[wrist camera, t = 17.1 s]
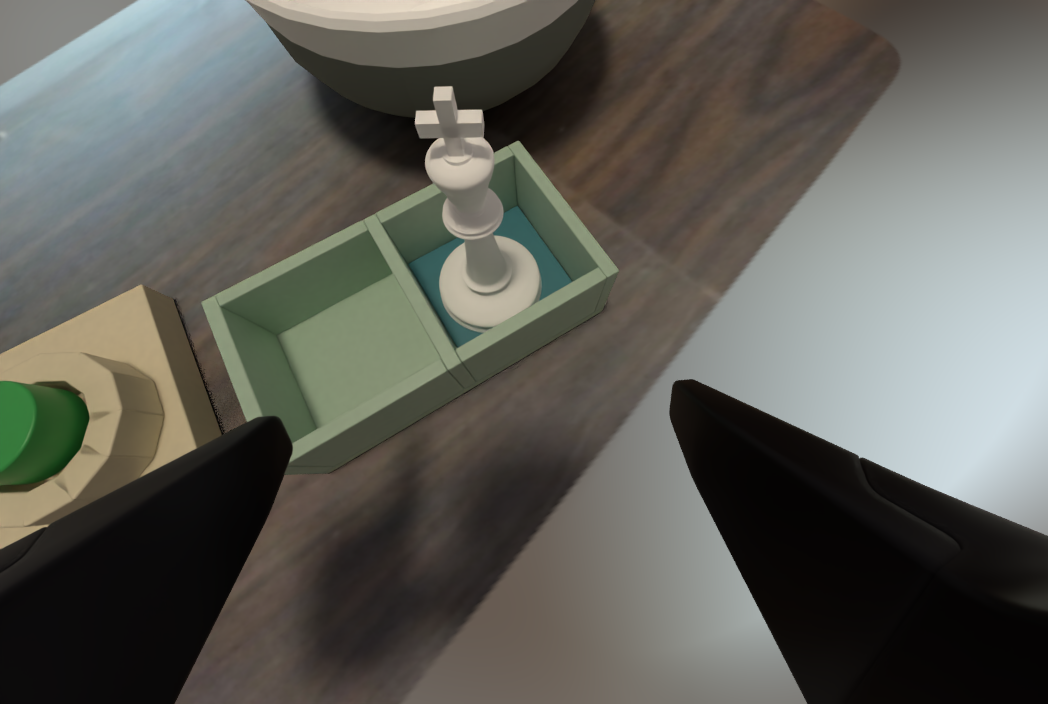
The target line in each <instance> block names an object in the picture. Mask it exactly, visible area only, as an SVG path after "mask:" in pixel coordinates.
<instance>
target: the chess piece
mask: <svg viewBox="0 0 1048 704" xmlns="http://www.w3.org/2000/svg"><path fill="white" fill-rule="evenodd" d="M433 103H434V107H435V110H430V111H416V117H415V127H416V129H417V132H418V135H419V138H438V139H437V140H436V141H435V142H434V143H433V144H432V145H431V146H430V148H429V149H428V151H427V154H426V158H425V168H426V171H427V174H428V176H429V178H430V179H431V181H432V182H433V183H434V184H435V185H436V187H437V188H438V189H439V190H440V191H442V192H443V193H444V194H445V195H446V196H447V199H446V200H445V202H444V205H443V212H442V219H443V223H444V225H445V227H446V228H447V230H448V231H449V232H450V233H451V234H453V235H454V236H456V237H458V238H461V239H464V240H465V242H464V243H463V244H461V245H460V246H458V247H457V248H456V249H455V250H454V251H453V252H452V253H451V254H450V255H449V256H448V258H447V259H446V261H445V263H444V264H443V267H442V269H441V273H440V278H439V288H440V294H441V299H442V302H443V305H444V307H445V309H446V311H447V312H448V314H449V315H450V316H451V317H452V318H453V319H454V320H455V321H456V322H457V323H459V324H460V325H462V326H463V327H465V328H467V329H470V330H472V331H476V332H481V333H485V332H486V331H488V330H490V329H492V328H493V327H495V326H497V325H498V324H500V323H502V322H504V321H505V320H507V319H509V318H511V317H512V316H514V315H516V314H518V313H519V312H521V311H523V310H525V309H526V308H528V307H530V306H531V305H533V304H535V303H537V302H538V301H539V298H540V295H541V288H542V281H541V275H540V272H539V268H538V265H537V263H536V261H535V259H534V257H533V256H532V254H531V253H530V252H529V251H528V250H527V249H526V248H525V247H524V246H523V245H521V244H520V243H518V242H516V241H514V240H512V239H510V238H506V237H502V236H494V235H493V232H494V231H495V230H496V229H497V228H498V227H499V225H500V224H501V222H502V219H503V206H502V203H501V201H500V199H499V198H498V196H497V195H496V194H495V193H494V192H493V191H492V190H491V189H489V188H488V185H489V182H490V180H491V177H492V174H493V170H494V162H495V159H494V153H493V150H492V148H491V146H490V145H489V143H488V142H487V141H486V140H485V139H484V138H482V137H484V118H483V111H482V110H458V109H457V105H456V100H455V96H454V91H453V87H452V86H447V87H434V95H433Z"/></svg>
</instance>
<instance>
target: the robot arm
mask: <svg viewBox="0 0 1048 704" xmlns="http://www.w3.org/2000/svg"><path fill="white" fill-rule="evenodd" d="M670 419H671V423H672V425H673V428H674V431H675V433H676V436H677V439H678V441H679V444H680V447H681V449H682V452H683V455H684V457H685V460H686V463H687V466H688V468H689V470H690V473H691V476H692V478H693V480H694V482H695V484H696V487H697V489H698V490H699V493H700V495H701V497H702V498H703V500H704V502H705V504H706V506H707V508H708V510H709V512H710V514H711V516H712V518H713V520H714V522H715V524H716V526H717V528H718V530H719V532H720V534H721V535H722V537H723V539H724V541H725V543H726V545H727V547H728V549H729V551H730V553H731V555H732V557H733V559H734V561H735V563H736V565H737V567H738V569H739V571H740V573H741V575H742V577H743V579H744V580H745V582H746V584H747V586H748V588H749V590H750V592H751V594H752V596H753V598H754V600H755V602H756V604H757V606H758V608H759V610H760V612H761V614H762V616H763V618H764V620H765V622H766V624H767V625H768V628H769V629H770V631H771V633H772V635H773V637H774V639H775V641H776V643H777V645H778V647H779V649H780V651H781V653H782V655H783V657H784V659H785V661H786V663H787V664H788V667H789V668H790V671H791V672H792V674H793V676H794V678H795V680H796V682H797V684H798V686H799V688H800V690H801V692H802V694H803V696H804V698H805V700H806V702H807V704H1048V536H1047V535H1044V534H1042V533H1039V532H1037V531H1034V530H1032V529H1029V528H1027V527H1024V526H1022V525H1019V524H1017V523H1015V522H1012V521H1009V520H1007V519H1005V518H1002V517H1000V516H997V515H995V514H992V513H990V512H988V511H985V510H983V509H980V508H978V507H975V506H973V505H970V504H968V503H966V502H963V501H961V500H958V499H956V498H954V497H951V496H949V495H946V494H944V493H942V492H939V491H937V490H934V489H932V488H930V487H927V486H925V485H923V484H920V483H918V482H916V481H914V480H911V479H909V478H907V477H905V476H902V475H900V474H898V473H896V472H893V471H891V470H889V469H887V468H884V467H882V466H880V465H878V464H876V463H874V462H872V461H869V460H867V459H865V458H860V459H859V456H858V455H856V454H854V453H852V452H849V451H847V450H845V449H843V448H841V447H839V446H837V445H834V444H832V443H830V442H828V441H826V440H824V439H822V438H819V437H817V436H815V435H813V434H811V433H809V432H806V431H804V430H802V429H800V428H797V427H796V426H793V425H791V424H789V423H787V422H785V421H782V420H780V419H778V418H776V417H774V416H771V415H769V414H767V413H765V412H763V411H761V410H759V409H756V408H754V407H752V406H750V405H747V404H746V403H743V402H741V401H739V400H737V399H735V398H732V397H730V396H728V395H726V394H724V393H722V392H719V391H717V390H715V389H713V388H711V387H709V386H707V385H704V384H702V383H700V382H698V381H695V380H693V379H689V380H678V381H675V382H674V384H673V387H672V394H671V403H670ZM292 452H293V444H292V441H291V439H290V437H289V435H288V433H287V431H286V428H285V426H284V424H283V422H282V420H281V419H280V418H279V417H278V416H261V417H256V418H254V419H252V420H250V421H248V422H246V423H244V424H243V425H241V426H239V427H237V428H235V429H233V430H231V431H229V432H227V433H225V434H223V435H221V436H219V437H217V438H215V439H213V440H212V441H210V442H208V443H206V444H204V445H202V446H200V447H198V448H196V449H194V450H192V451H190V452H188V453H186V454H184V455H182V456H181V457H179V458H177V459H175V460H173V461H171V462H169V463H167V464H165V465H163V466H161V467H159V468H157V469H155V470H153V471H151V472H150V473H148V474H146V475H144V476H142V477H140V478H138V479H136V480H134V481H132V482H130V483H128V484H126V485H124V486H122V487H120V488H119V489H117V490H115V491H113V492H111V493H109V494H107V495H105V496H103V497H101V498H99V499H97V500H95V501H93V502H91V503H89V504H88V505H86V506H84V507H82V508H80V509H78V510H76V511H74V512H72V513H70V514H68V515H66V516H64V517H62V518H60V519H58V520H56V521H55V522H53V523H51V524H50V525H49V526H48V527H43V528H41V529H39V530H37V531H35V532H33V533H31V534H29V535H27V536H25V537H23V538H21V539H19V540H18V541H16V542H14V543H12V544H10V545H8V546H6V547H4V548H2V549H0V704H175V702H176V700H177V698H178V696H179V694H180V692H181V690H182V688H183V686H184V684H185V682H186V680H187V678H188V676H189V674H190V672H191V670H192V668H193V666H194V664H195V662H196V660H197V658H198V656H199V654H200V652H201V650H202V648H203V646H204V644H205V642H206V640H207V638H208V636H209V634H210V632H211V630H212V628H213V626H214V624H215V622H216V620H217V618H218V616H219V614H220V612H221V610H222V608H223V606H224V604H225V602H226V600H227V598H228V596H229V594H230V592H231V590H232V588H233V586H234V584H235V582H236V580H237V578H238V576H239V574H240V572H241V570H242V568H243V566H244V564H245V562H246V560H247V558H248V556H249V554H250V552H251V550H252V548H253V546H254V544H255V542H256V540H257V538H258V536H259V534H260V532H261V530H262V528H263V526H264V524H265V522H266V519H267V517H268V515H269V513H270V510H271V508H272V505H273V503H274V500H275V498H276V495H277V492H278V490H279V487H280V485H281V482H282V479H283V477H284V474H285V471H286V469H287V466H288V464H289V461H290V458H291V456H292Z"/></svg>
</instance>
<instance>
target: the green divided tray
mask: <svg viewBox="0 0 1048 704" xmlns="http://www.w3.org/2000/svg"><path fill="white" fill-rule="evenodd" d="M494 159H495V162H494V170H493V174H492V177H491V180H490V182H489V185H488V188H489V189H491V190H492V191H493V192H494V193H495V194H496V195H497V196H498V198H499V199H500V201H501V203H502V206H503V219H502V222H501V224H500V225H499V227H498V228H497V229H496V230H495V231H494V232H493V235H494V236H502V237H506V238H510V239H512V240H514V241H516V242H518V243H520V244H521V245H523V246H524V247H525V248H526V249H527V250H528V251H529V252H530V253H531V254H532V256H533V257H534V259H535V261H536V263H537V265H538V268H539V272H540V275H541V281H542V288H541V295H540V298H539V301H538V302H537V303H535V304H533V305H531V306H530V307H528V308H526V309H525V310H523V311H521V312H519V313H518V314H516V315H514V316H512V317H511V318H509V319H507V320H505V321H504V322H502V323H500V324H498V325H497V326H495V327H493V328H492V329H490V330H488V331H486V332H485V333H481V332H476V331H472V330H470V329H467V328H465V327H463V326H462V325H460V324H459V323H457V322H456V321H455V320H454V319H453V318H452V317H451V316H450V315H449V314H448V312H447V311H446V309H445V307H444V305H443V302H442V299H441V294H440V288H439V278H440V273H441V269H442V267H443V264H444V263H445V261H446V259H447V258H448V256H449V255H450V254H451V253H452V252H453V251H454V250H455V249H456V248H457V247H458V246H460V245H461V244H463V243H464V242H465V240H464V239H461V238H458V237H456V236H454V235H453V234H451V233H450V232H449V231H448V230H447V228H446V227H445V225H444V223H443V219H442V212H443V205H444V202H445V200H446V199H447V196H446V195H445V194H444V193H443V192H442V191H440V190H439V189H438V188H437V187H436V185H435V184H432V185H430V186H428V187H426V188H424V189H422V190H420V191H418V192H416V193H414V194H412V195H410V196H408V197H406V198H404V199H402V200H400V201H398V202H396V203H394V204H392V205H391V206H389V207H387V208H385V209H383V210H381V211H379V212H377V213H376V215H375V214H373V215H371V216H369V217H368V218H366V219H364V220H363V221H364V222H363V221H359V222H357V223H355V224H353V225H352V226H350V227H348V228H346V229H344V230H342V231H340V232H338V233H336V234H334V235H332V236H330V237H328V238H326V239H324V240H322V241H320V242H318V243H316V244H314V245H312V246H310V247H308V248H306V249H305V250H303V251H301V252H299V253H297V254H295V255H293V256H291V257H289V258H287V259H285V260H283V261H281V262H279V263H277V264H275V265H273V266H271V267H269V268H267V269H265V270H263V271H261V272H259V273H257V274H256V275H254V276H252V277H250V278H248V279H246V280H244V281H242V282H240V283H238V284H236V285H234V286H232V287H230V288H228V289H226V290H224V291H222V292H220V293H218V294H216V296H212V297H210V298H209V299H207V300H205V301H203V302H202V306H203V309H204V311H205V314H206V316H207V319H208V322H209V324H210V327H211V330H212V332H213V335H214V337H215V340H216V343H217V345H218V348H219V350H220V353H221V356H222V358H223V361H224V363H225V366H226V369H227V371H228V374H229V377H230V379H231V382H232V384H233V387H234V390H235V392H236V395H237V397H238V400H239V403H240V405H241V408H242V411H243V413H244V416H245V418H246V421H247V422H248V421H250V420H252V419H254V418H256V417H261V416H278V417H279V418H280V419H281V420H282V422H283V424H284V426H285V428H286V431H287V433H288V435H289V437H290V439H291V441H292V444H293V452H292V456H291V458H290V461H289V464H288V466H287V469H286V471H285V474H284V475H292V474H321V473H322V474H326V473H330V472H332V471H334V470H335V469H337V468H339V467H341V466H342V465H344V464H346V463H347V462H349V461H351V460H352V459H354V458H356V457H357V456H359V455H361V454H362V453H364V452H366V451H367V450H369V449H371V448H373V447H374V446H376V445H378V444H379V443H381V442H383V441H384V440H386V439H388V438H389V437H391V436H393V435H394V434H396V433H398V432H399V431H401V430H403V429H405V428H406V427H408V426H410V425H411V424H413V423H415V422H416V421H418V420H420V419H421V418H423V417H425V416H426V415H428V414H430V413H431V412H433V411H435V410H436V409H438V408H440V407H442V406H443V405H445V404H447V403H448V402H450V401H452V400H453V399H455V398H457V397H458V396H460V395H462V394H463V393H465V392H467V391H468V390H470V389H472V388H474V387H475V386H477V385H479V384H480V383H482V382H484V381H485V380H487V379H489V378H490V377H492V376H494V375H495V374H497V373H499V372H500V371H502V370H504V369H506V368H507V367H509V366H511V365H512V364H514V363H516V362H517V361H519V360H521V359H522V358H524V357H526V356H527V355H529V354H531V353H532V352H534V351H536V350H538V349H539V348H541V347H543V346H544V345H546V344H548V343H549V342H551V341H553V340H554V339H556V338H558V337H559V336H561V335H563V334H564V333H566V332H568V331H570V330H571V329H573V328H575V327H576V326H578V325H580V324H581V323H583V322H585V321H586V320H588V319H590V318H591V317H593V316H595V315H596V314H598V313H600V312H601V311H602V310H603V308H604V305H605V303H606V300H607V298H608V296H609V293H610V291H611V289H612V286H613V284H614V282H615V279H616V277H617V274H618V272H619V270H618V268H617V267H616V266H615V265H614V263H613V262H612V261H611V259H610V258H609V257H608V255H607V254H606V253H605V252H604V250H603V249H602V248H601V246H600V245H599V244H598V242H597V241H596V240H595V239H594V237H593V236H592V235H591V233H590V232H589V231H588V230H587V228H586V227H585V226H584V224H583V223H582V222H581V220H580V219H579V218H578V217H577V215H576V214H575V213H574V211H573V210H572V209H571V207H570V206H569V205H568V204H567V202H566V201H565V200H564V198H563V197H562V196H561V195H560V193H559V192H558V191H557V189H556V188H555V187H554V185H553V184H552V183H551V182H550V180H549V179H548V178H547V176H546V175H545V174H544V172H543V171H542V170H541V169H540V167H539V166H538V165H537V163H536V162H535V161H534V160H533V158H532V157H531V156H530V154H529V153H528V152H527V150H526V149H525V148H524V147H523V145H522V144H521V143H520V141H516V142H514V143H512V144H510V145H509V146H508V147H507V146H506V147H504V148H502V149H500V150H498V151H496V152H494Z"/></svg>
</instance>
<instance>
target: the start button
mask: <svg viewBox="0 0 1048 704" xmlns="http://www.w3.org/2000/svg"><path fill="white" fill-rule="evenodd" d="M89 420H90V418H89V412H88V409H87V406H86V404H85V402H84V401H83V400H82V399H81V398H80V397H79V396H78V395H76V394H75V393H73V392H71V391H68V390H63V389H57V388H51V387H44V386H38V385H32V384H26V383H20V382H14V381H0V485H23V484H32V483H37V482H40V481H43V480H45V479H48V478H50V477H52V476H53V475H55V474H57V473H58V472H60V471H61V470H62V469H64V468H65V467H66V466H67V465H68V463H69V462H70V461H71V460H72V459H73V457H74V456H75V455H76V454H77V453H78V451H79V450H80V449H81V446H82V443H83V439H84V436H85V433H86V429H87V426H88V423H89Z"/></svg>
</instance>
